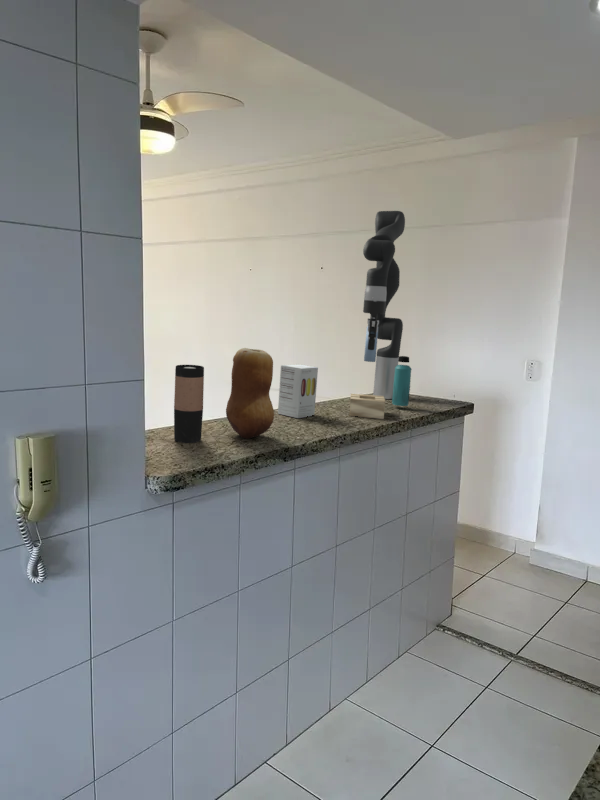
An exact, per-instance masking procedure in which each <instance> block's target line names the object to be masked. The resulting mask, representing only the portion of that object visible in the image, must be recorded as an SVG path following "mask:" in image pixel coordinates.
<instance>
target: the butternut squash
mask: <svg viewBox="0 0 600 800" xmlns="http://www.w3.org/2000/svg"><path fill="white" fill-rule="evenodd" d="M232 363H233V364H232V368H231V389H230V395H229V398H228V400H227V405H226V409H225V413H226V414H225V415H226V418H227V421H228V423H229V424H230V426H231V428H232V429H233V430H234V432H235V433H236V434H238V435H239V437H241V438H243V439H246V440H248V439H252V438H256V437H258V436H261V435H263V434H264V433H266V432H268V431H269V429H270V428H271V426H272V424H273V423H274V419H275V412H274V411H275V410H274V407H273V403H272V401H271V397H270V390H271V387H272V382H273V374H274V360H273V358H272V355H270V354H269V353H268V352H267V351H265V350H263V349H257V348H256V349H255V348H253V349H252V348H248V347H242V348H240V349H238V350H237V351H236V352H235V354H234V355H233V358H232Z"/></svg>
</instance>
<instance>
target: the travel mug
mask: <svg viewBox="0 0 600 800" xmlns="http://www.w3.org/2000/svg"><path fill="white" fill-rule="evenodd" d="M174 370H175V372H174V375H175V376H174V397H173V398H174V400H173V401H174V403H173V427H174V428H173V430H174V431H173V435H174V436H173V437H174V438H173V439H174V441H175V442H177V443H182V444H184V443H185V444H195V443H199V442H201V440H202V431H203V429H202V428H203V416H204V415H203V414H204V413H203V412H204V390H205V389H204V388H205V387H204V386H205V385H204V384H205V383H204V382H205V367H204V366H203V365H199V364H198V365H197V364H178V365H175V369H174Z"/></svg>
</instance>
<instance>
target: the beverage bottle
mask: <svg viewBox="0 0 600 800" xmlns="http://www.w3.org/2000/svg"><path fill="white" fill-rule="evenodd" d="M398 363H410V356H405V355H399V360H398ZM411 377H412V368H411V366H410V365H407V364H398V365H397V366H396V367H395V375H394V384H393V392H392V393H393V395H392V396H393V398H392V399H391V404H392V405H394V406H400V407H408V405H409V403H410V402H409V401H410V393H411V392H410V391H411V379H412V378H411Z"/></svg>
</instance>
